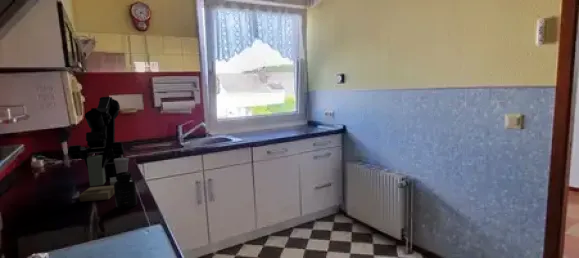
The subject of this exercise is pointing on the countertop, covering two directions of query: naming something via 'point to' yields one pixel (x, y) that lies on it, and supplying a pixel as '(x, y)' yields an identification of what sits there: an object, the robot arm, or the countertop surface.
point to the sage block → (96, 170)
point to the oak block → (97, 193)
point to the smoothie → (121, 164)
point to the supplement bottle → (125, 191)
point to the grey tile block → (113, 180)
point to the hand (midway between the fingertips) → (95, 168)
